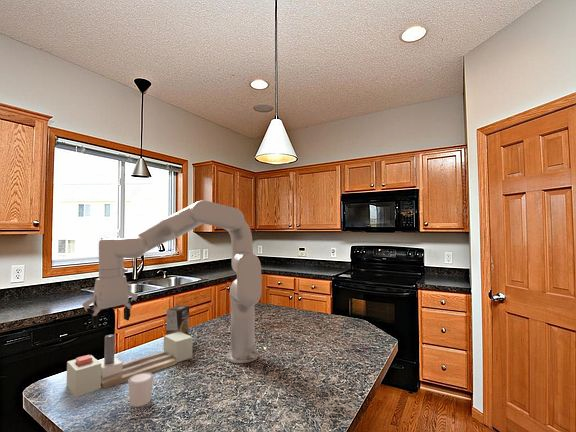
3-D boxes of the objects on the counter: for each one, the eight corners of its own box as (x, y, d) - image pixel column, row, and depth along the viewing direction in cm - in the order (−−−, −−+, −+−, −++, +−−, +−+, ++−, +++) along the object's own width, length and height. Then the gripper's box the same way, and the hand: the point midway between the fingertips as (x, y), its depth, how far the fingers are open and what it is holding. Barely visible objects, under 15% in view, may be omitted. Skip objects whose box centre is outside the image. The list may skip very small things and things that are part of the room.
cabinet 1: (100, 388, 100) (101, 363, 101) (75, 397, 95) (75, 370, 96) (90, 378, 107) (91, 355, 107) (66, 386, 102) (67, 361, 102)
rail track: (176, 364, 119) (176, 357, 119) (103, 389, 100) (103, 381, 100) (161, 355, 127) (161, 349, 127) (91, 377, 108) (91, 369, 108)
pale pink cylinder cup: (133, 395, 96) (133, 372, 97) (156, 394, 97) (156, 371, 97) (123, 408, 89) (124, 383, 90) (148, 407, 90) (148, 382, 90)
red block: (91, 370, 101) (92, 357, 102) (79, 374, 99) (79, 361, 99) (88, 367, 104) (88, 354, 104) (75, 370, 101) (76, 357, 101)
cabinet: (192, 357, 125) (192, 337, 125) (176, 362, 120) (176, 341, 120) (179, 350, 132) (179, 331, 132) (163, 355, 126) (163, 335, 127)
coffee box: (178, 348, 134) (179, 310, 135) (165, 347, 136) (165, 309, 136) (189, 340, 143) (189, 305, 144) (176, 339, 145) (177, 304, 145)
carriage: (122, 371, 107) (123, 336, 107) (102, 377, 102) (103, 340, 103) (114, 365, 111) (115, 331, 112) (95, 371, 107) (96, 335, 107)
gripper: (132, 269, 117) (133, 315, 117) (79, 276, 104) (79, 327, 104) (141, 271, 112) (141, 319, 112) (86, 278, 99) (86, 332, 99)
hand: (111, 323), depth 108 cm, fingers open, 9 cm apart
